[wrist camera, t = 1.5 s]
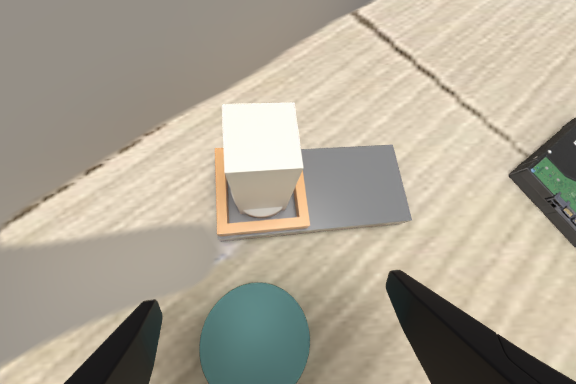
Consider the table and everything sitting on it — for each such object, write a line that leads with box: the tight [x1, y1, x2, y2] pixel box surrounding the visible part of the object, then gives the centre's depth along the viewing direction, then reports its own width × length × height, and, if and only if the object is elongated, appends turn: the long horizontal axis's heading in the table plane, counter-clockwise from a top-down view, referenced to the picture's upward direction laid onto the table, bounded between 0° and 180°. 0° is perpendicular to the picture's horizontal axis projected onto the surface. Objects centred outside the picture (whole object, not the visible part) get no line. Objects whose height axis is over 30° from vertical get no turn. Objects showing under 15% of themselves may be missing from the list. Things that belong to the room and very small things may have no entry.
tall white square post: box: [222, 102, 303, 219], centre depth 18 cm, size 5×5×10 cm
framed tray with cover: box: [215, 145, 412, 241], centre depth 23 cm, size 18×8×4 cm, turn 96°
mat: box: [200, 283, 310, 384], centre depth 20 cm, size 9×9×1 cm
